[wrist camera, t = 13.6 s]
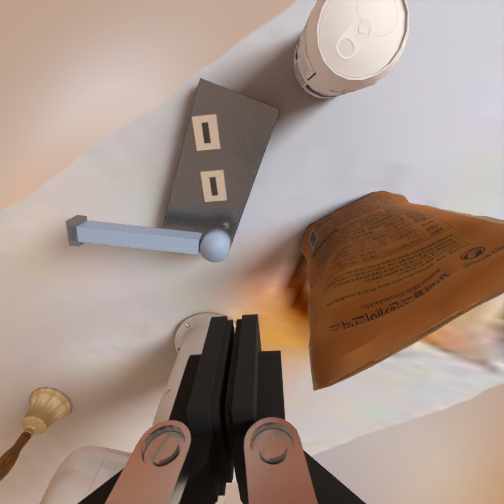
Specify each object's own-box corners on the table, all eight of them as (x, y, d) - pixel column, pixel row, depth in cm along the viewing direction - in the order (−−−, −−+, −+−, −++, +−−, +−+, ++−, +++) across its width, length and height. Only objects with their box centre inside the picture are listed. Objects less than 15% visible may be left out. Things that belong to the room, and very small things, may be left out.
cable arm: (231, 230, 40) (229, 237, 38) (229, 255, 41) (227, 263, 39) (77, 213, 40) (65, 219, 38) (80, 239, 41) (69, 246, 39)
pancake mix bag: (277, 229, 46) (292, 367, 21) (400, 163, 42) (613, 234, 16) (298, 264, 49) (335, 428, 23) (417, 205, 44) (628, 326, 19)
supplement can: (328, 2, 35) (369, -71, 22) (375, 58, 37) (439, 24, 24) (279, 63, 38) (287, 33, 24) (325, 113, 40) (356, 111, 26)
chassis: (230, 244, 48) (226, 261, 42) (167, 222, 47) (154, 237, 41) (278, 110, 40) (281, 108, 34) (204, 80, 39) (194, 74, 33)
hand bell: (25, 386, 62) (-49, 470, 47) (66, 387, 61) (4, 472, 47) (37, 416, 65) (-29, 503, 50) (76, 417, 65) (21, 504, 50)
